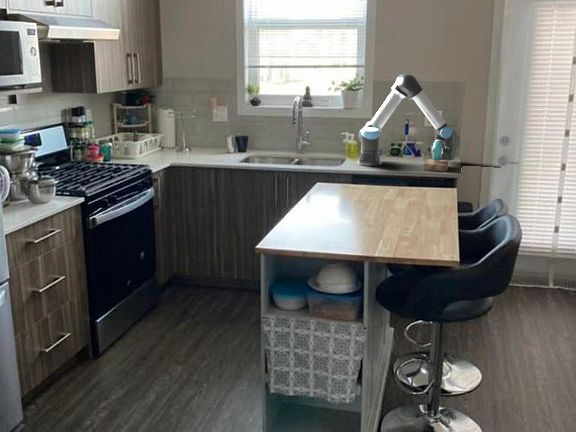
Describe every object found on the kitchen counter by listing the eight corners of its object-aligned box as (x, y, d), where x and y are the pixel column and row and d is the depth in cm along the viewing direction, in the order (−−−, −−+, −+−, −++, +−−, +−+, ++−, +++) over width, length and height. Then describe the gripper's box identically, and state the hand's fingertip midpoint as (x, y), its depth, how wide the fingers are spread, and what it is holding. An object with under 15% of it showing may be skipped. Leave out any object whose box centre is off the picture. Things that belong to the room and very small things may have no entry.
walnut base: (424, 170, 399) (424, 163, 398) (425, 165, 416) (426, 159, 415) (446, 171, 396) (447, 165, 395) (447, 166, 412) (448, 160, 411)
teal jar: (432, 160, 403) (433, 142, 400) (432, 158, 408) (433, 141, 405) (441, 160, 401) (442, 143, 398) (441, 159, 406) (442, 142, 403)
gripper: (452, 152, 418) (451, 158, 397) (424, 151, 423) (421, 156, 401) (453, 141, 416) (452, 146, 395) (424, 140, 421) (422, 144, 399)
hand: (437, 151), depth 398 cm, fingers closed on teal jar, 5 cm apart
